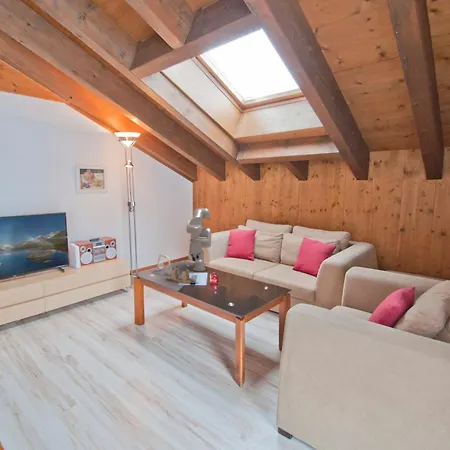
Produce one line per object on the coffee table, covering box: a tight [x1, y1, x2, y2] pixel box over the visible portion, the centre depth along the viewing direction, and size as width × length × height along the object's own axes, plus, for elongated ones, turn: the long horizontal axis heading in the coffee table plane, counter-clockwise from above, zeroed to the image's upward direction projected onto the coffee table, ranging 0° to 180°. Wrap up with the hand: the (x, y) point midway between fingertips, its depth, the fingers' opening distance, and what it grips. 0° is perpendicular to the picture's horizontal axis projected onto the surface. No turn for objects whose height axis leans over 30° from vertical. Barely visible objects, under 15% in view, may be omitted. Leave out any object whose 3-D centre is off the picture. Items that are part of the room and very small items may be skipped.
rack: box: [165, 265, 196, 285], centre depth 290 cm, size 10×24×12 cm, turn 65°
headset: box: [156, 253, 173, 276], centre depth 311 cm, size 20×7×18 cm, turn 42°
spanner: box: [187, 254, 203, 264], centre depth 290 cm, size 22×6×3 cm, turn 33°
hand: (195, 260), depth 290 cm, fingers closed on spanner, 3 cm apart
